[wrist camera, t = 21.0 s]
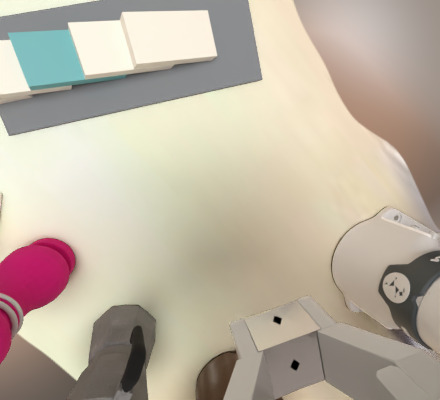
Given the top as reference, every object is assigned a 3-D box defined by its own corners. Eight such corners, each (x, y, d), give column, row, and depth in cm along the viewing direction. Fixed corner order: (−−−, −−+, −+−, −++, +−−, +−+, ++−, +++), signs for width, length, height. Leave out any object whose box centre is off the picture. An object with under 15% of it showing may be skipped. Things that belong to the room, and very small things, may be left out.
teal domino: (112, 27, 30) (7, 32, 26) (126, 74, 31) (28, 86, 27) (111, 33, 31) (11, 39, 27) (124, 78, 33) (31, 90, 29)
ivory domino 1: (54, 37, 29) (-66, 43, 25) (71, 85, 30) (-40, 99, 26) (55, 43, 30) (-58, 50, 26) (71, 89, 32) (-35, 102, 27)
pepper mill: (10, 242, 34) (-191, 368, 15) (68, 227, 35) (-51, 328, 16) (32, 291, 36) (-124, 460, 17) (87, 276, 37) (-1, 419, 18)
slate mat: (242, -22, 33) (243, -24, 33) (261, 79, 36) (262, 79, 36) (-36, 24, 29) (-39, 23, 29) (10, 135, 32) (8, 135, 31)
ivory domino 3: (207, 10, 31) (121, 11, 27) (217, 55, 33) (136, 64, 28) (202, 16, 33) (119, 19, 29) (211, 60, 34) (134, 68, 30)
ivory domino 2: (162, 18, 31) (67, 22, 27) (174, 64, 32) (85, 75, 28) (158, 24, 32) (68, 29, 28) (170, 69, 33) (85, 79, 29)
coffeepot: (137, 375, 42) (116, 540, 24) (76, 360, 39) (3, 531, 22) (179, 290, 40) (189, 401, 23) (118, 268, 38) (76, 374, 20)
